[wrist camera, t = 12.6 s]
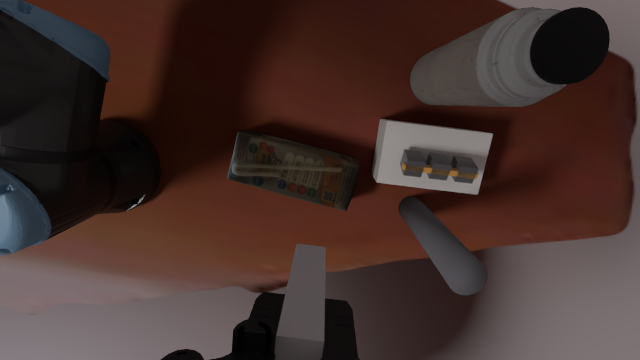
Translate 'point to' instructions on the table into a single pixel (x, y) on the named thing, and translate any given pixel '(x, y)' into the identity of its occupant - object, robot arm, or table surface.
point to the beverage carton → (294, 169)
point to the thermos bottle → (513, 59)
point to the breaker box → (426, 140)
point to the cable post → (444, 248)
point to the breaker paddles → (439, 166)
